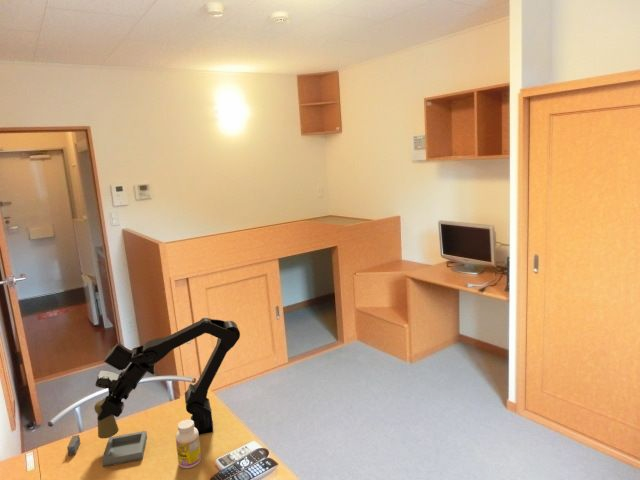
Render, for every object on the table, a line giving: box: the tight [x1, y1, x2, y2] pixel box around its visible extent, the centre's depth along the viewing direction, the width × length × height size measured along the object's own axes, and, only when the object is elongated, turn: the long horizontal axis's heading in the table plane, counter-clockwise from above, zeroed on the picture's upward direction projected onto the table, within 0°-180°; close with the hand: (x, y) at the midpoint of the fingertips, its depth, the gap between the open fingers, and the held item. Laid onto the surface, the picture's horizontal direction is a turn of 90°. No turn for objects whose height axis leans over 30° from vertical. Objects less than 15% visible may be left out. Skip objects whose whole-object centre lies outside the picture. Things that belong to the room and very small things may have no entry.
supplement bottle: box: [175, 418, 202, 469], centre depth 134 cm, size 7×7×13 cm
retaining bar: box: [66, 434, 81, 457], centre depth 143 cm, size 2×6×3 cm, turn 14°
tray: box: [101, 430, 148, 468], centre depth 141 cm, size 11×11×2 cm
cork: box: [93, 399, 120, 439], centre depth 141 cm, size 6×6×11 cm
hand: (100, 414), depth 141 cm, fingers closed on cork, 5 cm apart
